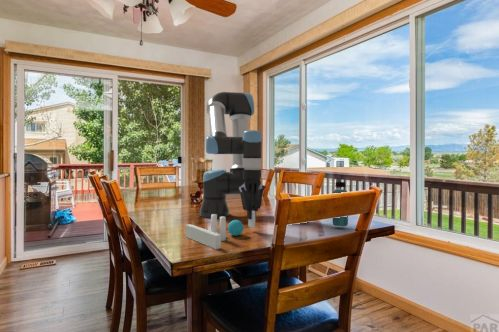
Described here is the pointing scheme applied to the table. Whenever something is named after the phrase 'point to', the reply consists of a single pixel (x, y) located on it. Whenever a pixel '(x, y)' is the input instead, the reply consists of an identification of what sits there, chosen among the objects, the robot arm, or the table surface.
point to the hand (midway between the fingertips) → (251, 226)
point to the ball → (235, 227)
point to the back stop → (203, 236)
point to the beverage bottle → (342, 220)
